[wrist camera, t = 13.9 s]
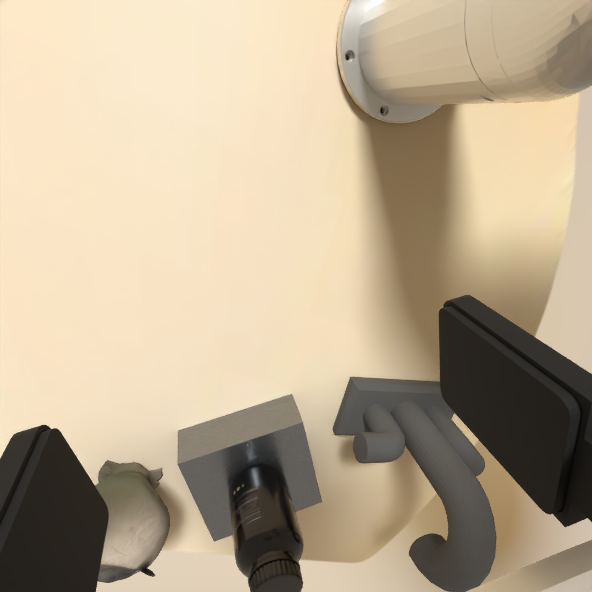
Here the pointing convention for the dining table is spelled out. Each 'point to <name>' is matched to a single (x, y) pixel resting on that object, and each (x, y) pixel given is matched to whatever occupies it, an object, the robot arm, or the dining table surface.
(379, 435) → the faucet
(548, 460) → the robot arm
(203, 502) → the stand
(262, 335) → the dining table surface
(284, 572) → the supplement bottle
